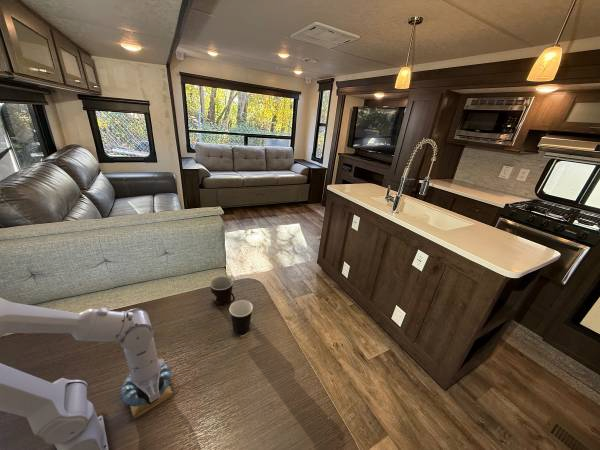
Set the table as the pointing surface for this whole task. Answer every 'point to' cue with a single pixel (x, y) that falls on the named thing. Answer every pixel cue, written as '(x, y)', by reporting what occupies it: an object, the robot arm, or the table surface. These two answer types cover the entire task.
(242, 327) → the dixie cup
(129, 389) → the blue beaded bracelet
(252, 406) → the table surface
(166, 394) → the hook stand
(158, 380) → the robot arm
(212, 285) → the coffee mug
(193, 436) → the table surface
